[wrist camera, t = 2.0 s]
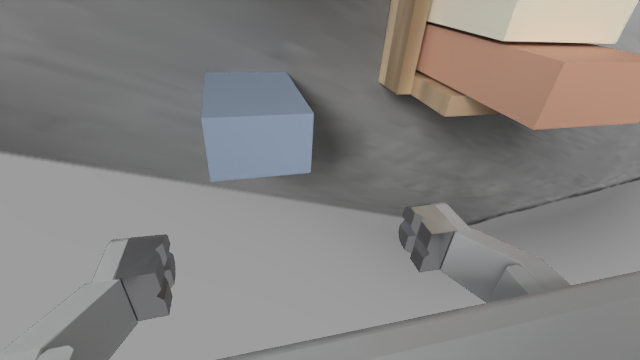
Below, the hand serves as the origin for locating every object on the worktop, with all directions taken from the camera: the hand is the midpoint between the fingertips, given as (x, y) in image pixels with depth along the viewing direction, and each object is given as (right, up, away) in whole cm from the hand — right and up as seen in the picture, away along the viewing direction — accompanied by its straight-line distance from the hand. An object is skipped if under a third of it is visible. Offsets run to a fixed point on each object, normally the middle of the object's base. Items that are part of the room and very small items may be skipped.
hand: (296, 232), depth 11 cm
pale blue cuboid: (-4, +7, +11) cm, 14 cm away
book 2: (+10, +11, +11) cm, 19 cm away
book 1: (+10, +14, +10) cm, 20 cm away
